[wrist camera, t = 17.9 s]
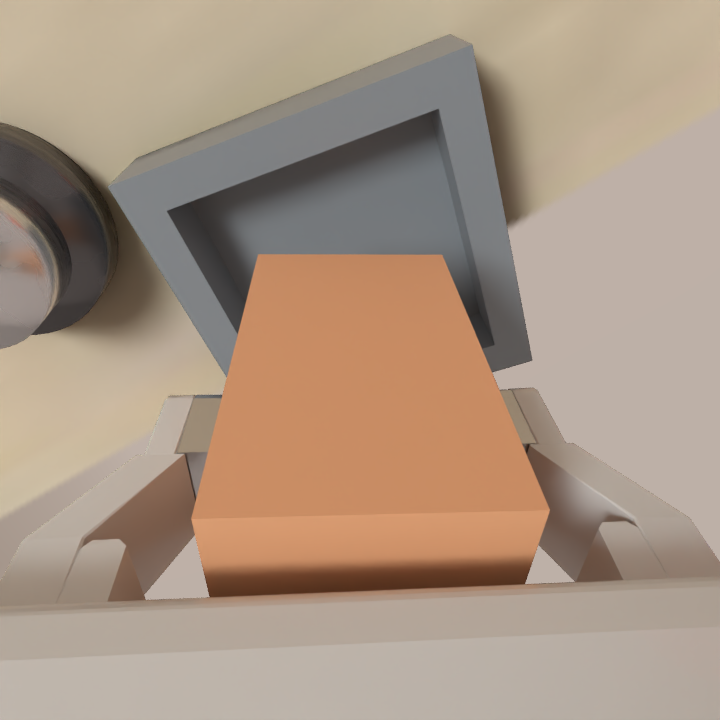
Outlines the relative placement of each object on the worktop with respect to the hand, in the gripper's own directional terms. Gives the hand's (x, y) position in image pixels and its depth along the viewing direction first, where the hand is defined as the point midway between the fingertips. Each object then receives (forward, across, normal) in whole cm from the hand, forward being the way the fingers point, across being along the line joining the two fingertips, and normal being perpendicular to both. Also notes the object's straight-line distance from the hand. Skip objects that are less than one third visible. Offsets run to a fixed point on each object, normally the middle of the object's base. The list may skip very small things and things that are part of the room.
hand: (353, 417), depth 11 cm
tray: (+8, 0, 0) cm, 8 cm away
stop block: (+3, 0, 0) cm, 3 cm away
